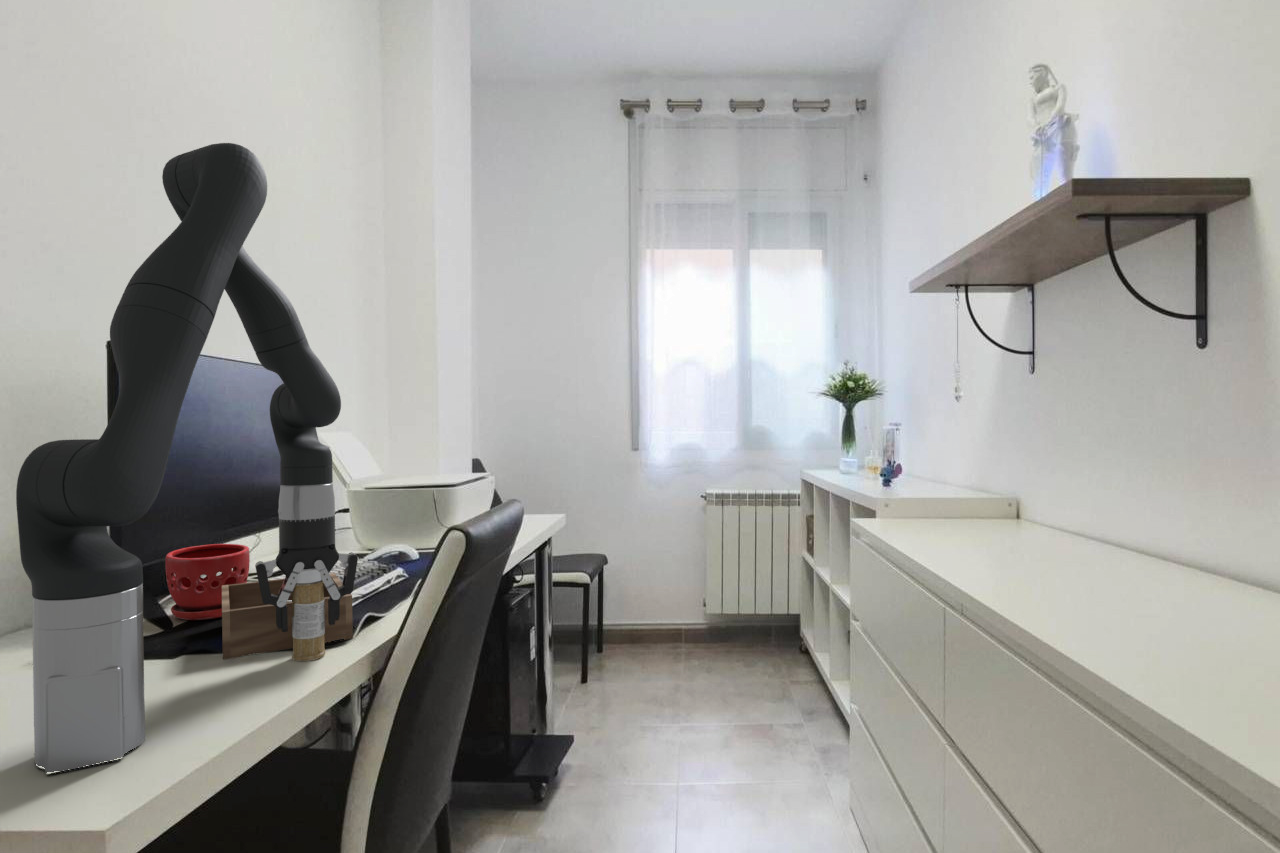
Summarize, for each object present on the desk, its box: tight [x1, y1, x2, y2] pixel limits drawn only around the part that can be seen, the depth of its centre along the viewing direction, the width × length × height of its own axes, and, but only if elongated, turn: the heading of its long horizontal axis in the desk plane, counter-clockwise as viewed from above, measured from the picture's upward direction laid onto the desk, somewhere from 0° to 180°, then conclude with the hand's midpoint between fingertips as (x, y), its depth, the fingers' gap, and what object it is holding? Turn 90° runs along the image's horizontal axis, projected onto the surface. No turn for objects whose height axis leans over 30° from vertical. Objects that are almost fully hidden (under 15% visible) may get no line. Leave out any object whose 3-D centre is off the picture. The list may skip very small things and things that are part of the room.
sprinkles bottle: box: [291, 568, 326, 662], centre depth 102 cm, size 5×5×14 cm
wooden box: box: [221, 572, 354, 660], centre depth 115 cm, size 20×18×7 cm
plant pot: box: [165, 543, 251, 621], centre depth 126 cm, size 13×13×12 cm
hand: (308, 626), depth 102 cm, fingers open, 5 cm apart
